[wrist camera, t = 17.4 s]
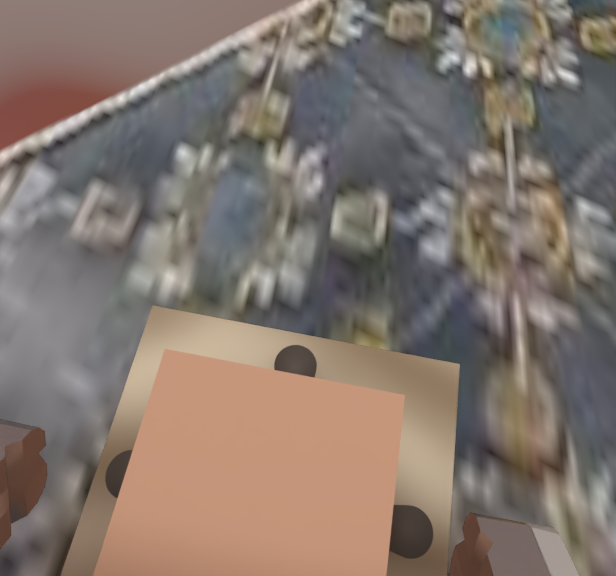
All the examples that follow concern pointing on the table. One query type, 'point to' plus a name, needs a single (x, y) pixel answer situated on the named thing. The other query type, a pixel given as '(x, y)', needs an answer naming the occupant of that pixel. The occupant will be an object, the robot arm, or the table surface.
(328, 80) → the table surface
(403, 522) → the pin plate
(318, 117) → the table surface
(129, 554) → the rubber post
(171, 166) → the table surface
